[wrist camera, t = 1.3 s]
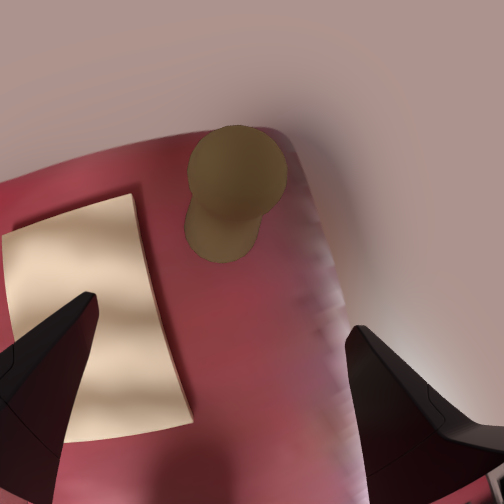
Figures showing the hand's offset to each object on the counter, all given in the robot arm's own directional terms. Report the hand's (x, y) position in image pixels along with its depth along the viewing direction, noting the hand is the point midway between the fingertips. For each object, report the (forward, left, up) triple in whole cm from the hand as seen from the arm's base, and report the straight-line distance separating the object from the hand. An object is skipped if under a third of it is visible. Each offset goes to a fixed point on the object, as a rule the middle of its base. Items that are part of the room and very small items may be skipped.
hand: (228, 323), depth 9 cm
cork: (+7, -3, -13) cm, 15 cm away
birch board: (+2, +10, -13) cm, 17 cm away
